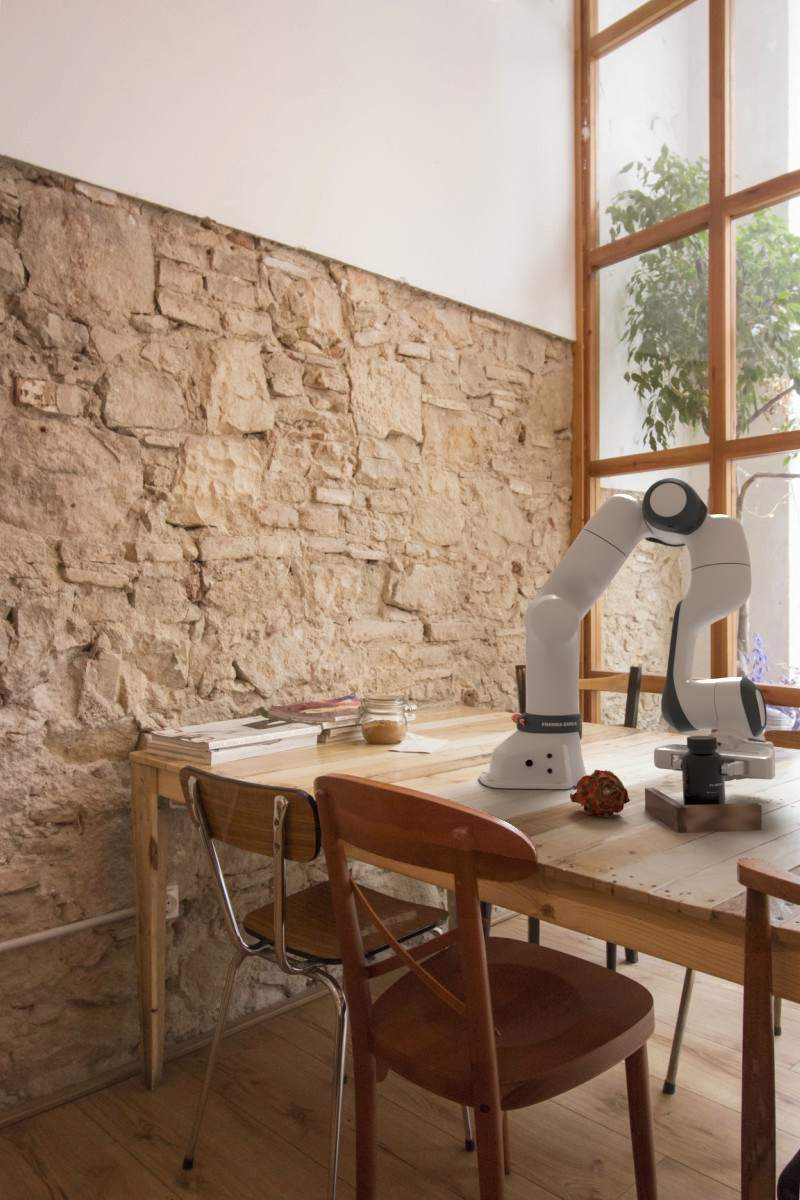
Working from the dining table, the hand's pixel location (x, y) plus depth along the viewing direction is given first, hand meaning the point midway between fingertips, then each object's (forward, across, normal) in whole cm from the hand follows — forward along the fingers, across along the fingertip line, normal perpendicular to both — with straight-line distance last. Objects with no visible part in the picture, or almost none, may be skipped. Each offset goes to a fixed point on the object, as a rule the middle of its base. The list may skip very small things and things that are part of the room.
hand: (701, 768), depth 145 cm
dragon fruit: (+5, -16, +9) cm, 19 cm away
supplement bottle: (-1, 0, +7) cm, 7 cm away
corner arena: (-1, 0, +9) cm, 9 cm away
